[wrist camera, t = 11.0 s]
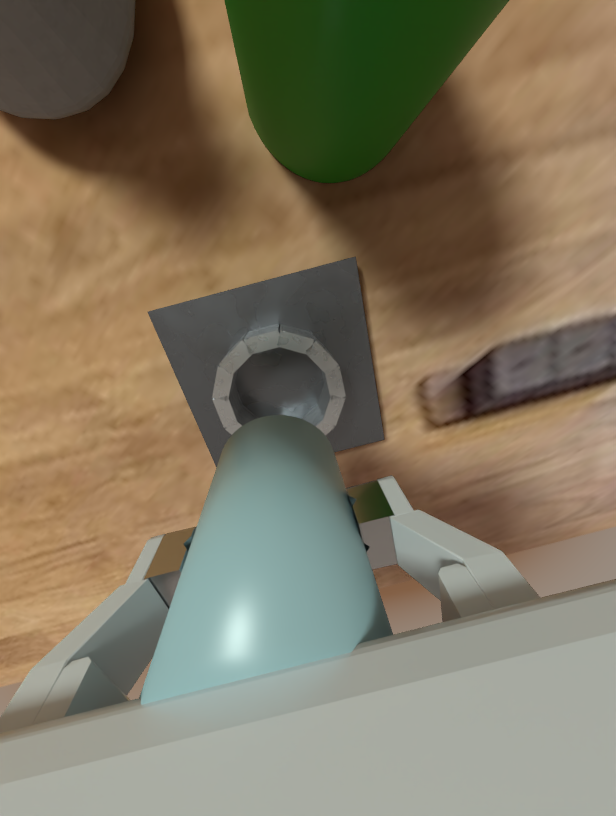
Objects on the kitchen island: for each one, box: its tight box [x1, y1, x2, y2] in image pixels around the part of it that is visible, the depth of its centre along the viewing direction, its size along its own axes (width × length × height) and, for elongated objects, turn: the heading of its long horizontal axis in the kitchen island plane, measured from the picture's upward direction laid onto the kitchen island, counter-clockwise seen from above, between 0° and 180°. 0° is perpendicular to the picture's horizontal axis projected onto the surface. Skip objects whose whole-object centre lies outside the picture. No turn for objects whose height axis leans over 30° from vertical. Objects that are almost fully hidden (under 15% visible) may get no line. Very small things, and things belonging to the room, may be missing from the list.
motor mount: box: [148, 257, 384, 467], centre depth 21 cm, size 14×14×4 cm
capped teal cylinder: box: [140, 415, 393, 705], centre depth 8 cm, size 5×5×10 cm
